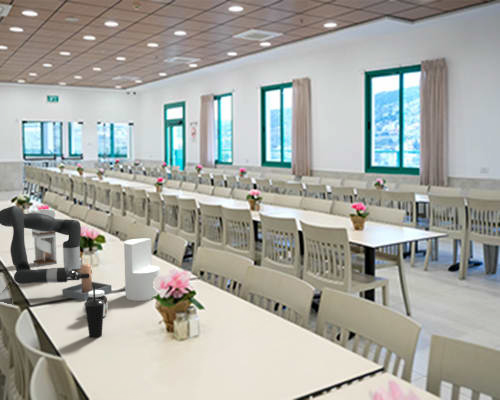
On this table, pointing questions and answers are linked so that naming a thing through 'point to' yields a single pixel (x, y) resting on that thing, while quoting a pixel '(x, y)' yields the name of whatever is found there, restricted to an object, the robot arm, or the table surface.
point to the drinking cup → (94, 316)
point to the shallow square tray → (77, 293)
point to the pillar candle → (86, 281)
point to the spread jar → (98, 295)
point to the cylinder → (139, 270)
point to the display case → (44, 243)
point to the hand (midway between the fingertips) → (90, 273)
